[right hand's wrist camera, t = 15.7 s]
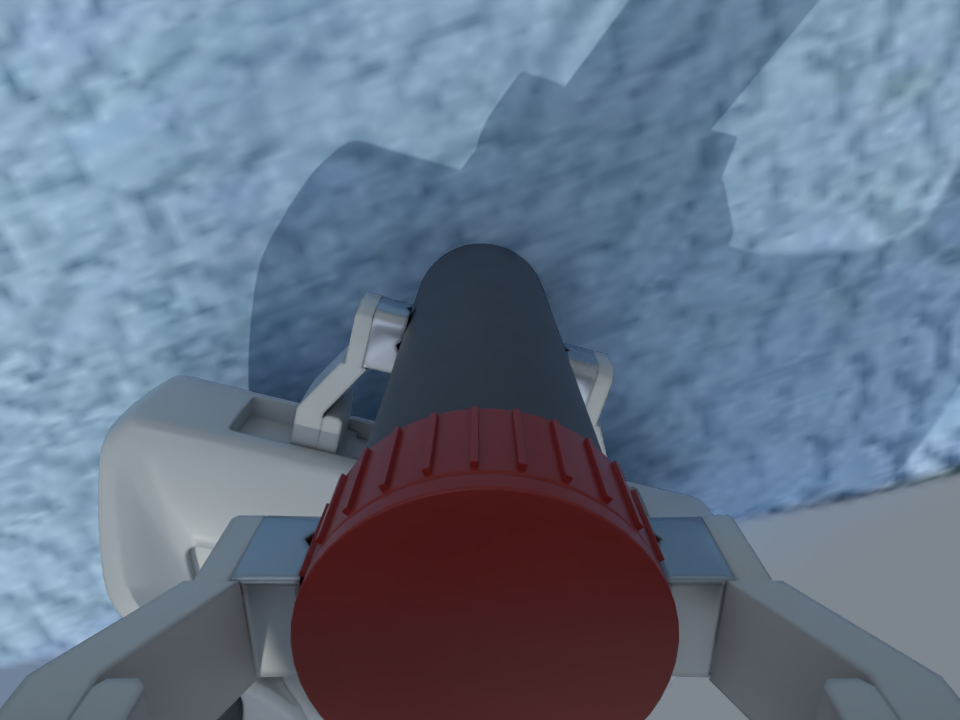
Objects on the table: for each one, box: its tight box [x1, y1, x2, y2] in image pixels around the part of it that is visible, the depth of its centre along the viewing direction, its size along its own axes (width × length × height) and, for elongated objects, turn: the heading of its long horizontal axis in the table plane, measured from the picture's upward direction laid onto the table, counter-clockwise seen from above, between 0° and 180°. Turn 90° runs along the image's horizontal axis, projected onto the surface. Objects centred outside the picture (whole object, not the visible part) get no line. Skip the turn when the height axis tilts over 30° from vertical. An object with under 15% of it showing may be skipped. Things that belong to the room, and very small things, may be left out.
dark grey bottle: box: [366, 244, 602, 452], centre depth 16 cm, size 5×5×16 cm
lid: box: [290, 406, 679, 720], centre depth 10 cm, size 5×5×2 cm
